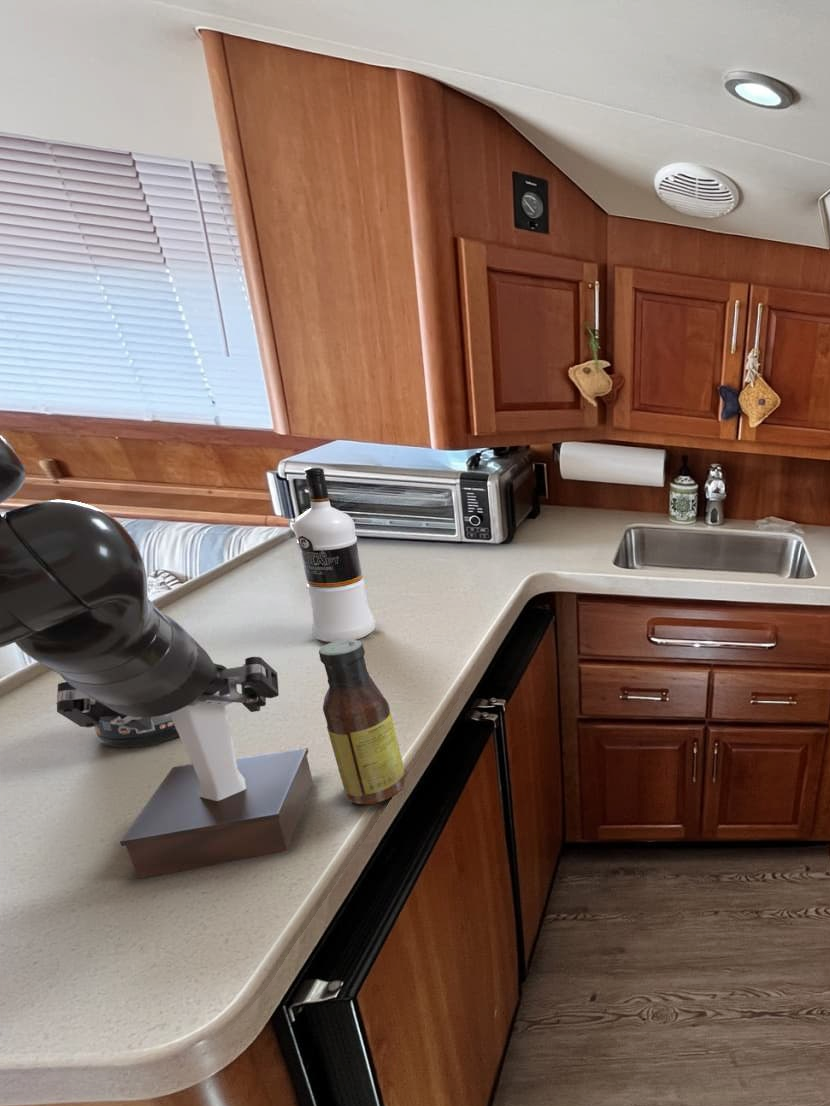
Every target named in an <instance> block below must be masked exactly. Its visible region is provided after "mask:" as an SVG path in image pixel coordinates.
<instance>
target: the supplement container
mask: <svg viewBox="0 0 830 1106" xmlns="http://www.w3.org/2000/svg"><path fill="white" fill-rule="evenodd" d="M94 729H95V733H96V736H97V738H98V739H99V740H100V741H101V742H102V743H104V744H105V745H107V746H111V747H117V748H135V747H145V746H149V745H150V746H151V745H155V744H159V743H162V742H166V741H169V740H171V739H175V738H176V737H180V736H179V734H178V732H177V730H176V727H175V725H174V723H173V721H172V719H171V716H170V714H166V715H161V716H156V717H151V729H149V730H143V731H139V730H137V729H136V728H130V727H126V726H124V725H123V724H121V725H117V724H111V720H104V721H99V725H97V726H94Z"/></svg>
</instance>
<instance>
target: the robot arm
mask: <svg viewBox="0 0 830 1106" xmlns="http://www.w3.org/2000/svg"><path fill="white" fill-rule="evenodd" d="M26 477H27V472H26V467H25V465H24V463H23V462H22V459H21V458H20V456H19V455H18V454H17V452H16V451H15V450H14V448H13V447H12V446H11V444H9V442H8V441H7V440H6V439H5V438H4V437H3V435H2V434H1V433H0V505H1V504H3V503H4V502H6V501H7V500H10V498H11V497H13V496H14V495H15V494H16V493H17V492H19V491H20V490H21V488H22V487H23V485H24V483H25V481H26ZM11 644H16V646H17V647H18V648H19V649H20V650H21V651H22V652H23V653H24V654H26V655H27V656H29V657H30V659H31V658H32V659H33V660H35V661H36V662H38V663H39V664H41V665H43V666H45V667H46V668H48V669H50V670H52V671H53V672H55V673H56V674H58V675H60V677H61V678H62V679H63V680H64V682H59V683H58V684H57V692H56V712H57V713H58V714H60V715H61V716H63V717H64V718H66V719H67V720H69V721H71V722H72V723H74V724H76V725H77V726H79V727H81V728H93V727H95V726H97V725H99V721H104V720H111V724H117V725H121V724H123V725H124V726H126V727H130V728H136V729H137V730H139V731H143V730H149V729H151V717H156V716H161V715H166V714H169V713H172V712H175V711H177V710H180V709H182V708H184V707H186V706H195V705H197V704H204V705H216V706H225V707H226V706H228V705H230V704H233V703H239V704H242V705H243V706H244V707H245V709H247V710H248V711H249V712H250V713H255V712H260V711H261V708H262V707H265V706H266V705H267V699H273V698H277V697H279V696H280V693H279V679H278V672H277V670H275V669H274V668H273V667H272V666H270V665H269V664H268V663H267V662H266V661H265V659H263V658H262V657H260V656H250V657H247V658H245V659H244V663H243V665H242V666H237V667H235V666H234V667H229V668H227V667H226V666H225V665H222V664H219V663H218V664H217V663H214V662H213V659H212V658H211V656H210V654H208V652H207V651H206V650H205V649H204V648H203V647H202V646H201V645H200V644H199V643H198V642H197V641H196V640H195V639H194V638H193V637H192V636H191V634H189V633H188V632H187V631H186V630H185V629H184V628H183V627H182V625H180V624H179V623H178V622H177V621H176V620H175V619H173V618H172V617H170V616H169V615H168V614H167V615H166V614H165V613H164V612H162V611H161V610H160V609H159V608H158V607H157V606H156V605H155V604H154V603H153V602H152V601H151V600H150V599H149V596H148V576H147V572H146V567H145V562H144V560H143V557H142V553H141V551H140V549H139V547H138V546H137V543H136V542H135V540H134V538H133V537H132V536H131V534H130V533H129V532H128V530H127V529H126V528H125V527H124V525H122V524H121V523H120V522H119V521H118V520H117V519H115V518H114V517H113V516H112V515H110V514H108V513H107V512H105V511H104V510H101V509H99V508H97V507H94V506H92V505H89V504H85V503H82V502H79V501H72V500H63V499H54V500H53V499H52V500H44V501H39V502H35V503H31V504H28V505H24V506H22V507H18V508H15V509H12V510H9V511H8V510H7V511H6V512H5V513H0V648H4V647H6V646H9V645H11ZM237 685H239V686H240V687H241V693H240V692H238V689H237V688H238V687H237ZM218 691H219V696H216V695H214V694H215V693H217V692H218Z"/></svg>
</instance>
